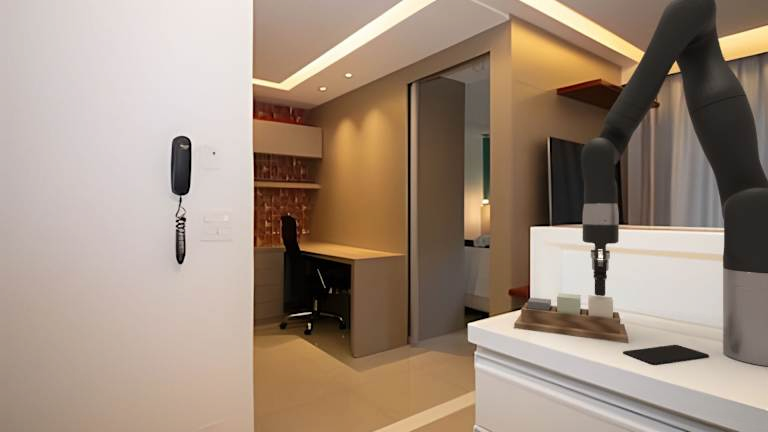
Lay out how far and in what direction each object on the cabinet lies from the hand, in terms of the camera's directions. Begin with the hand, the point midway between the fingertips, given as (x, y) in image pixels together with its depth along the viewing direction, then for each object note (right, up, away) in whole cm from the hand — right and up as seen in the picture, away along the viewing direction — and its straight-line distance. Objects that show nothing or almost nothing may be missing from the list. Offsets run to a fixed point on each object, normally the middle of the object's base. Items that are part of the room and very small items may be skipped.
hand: (599, 295), depth 92 cm
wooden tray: (-6, -9, +3) cm, 11 cm away
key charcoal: (-12, -8, +6) cm, 15 cm away
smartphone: (+5, -10, -15) cm, 18 cm away
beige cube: (0, -6, 0) cm, 6 cm away
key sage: (-6, -6, +3) cm, 9 cm away
